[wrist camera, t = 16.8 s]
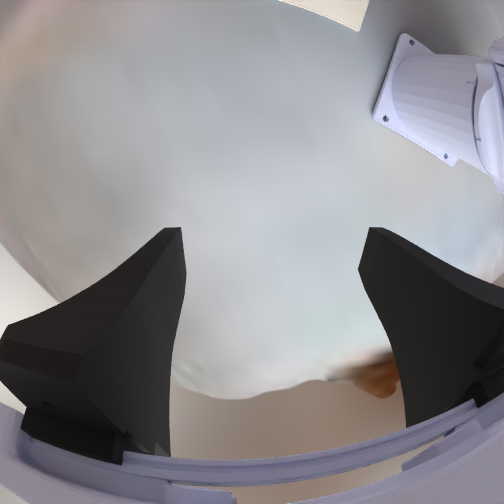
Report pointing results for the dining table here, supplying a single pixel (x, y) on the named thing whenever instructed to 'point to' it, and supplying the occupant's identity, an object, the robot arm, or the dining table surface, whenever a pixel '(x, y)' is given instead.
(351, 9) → the letter board
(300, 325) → the dining table surface
